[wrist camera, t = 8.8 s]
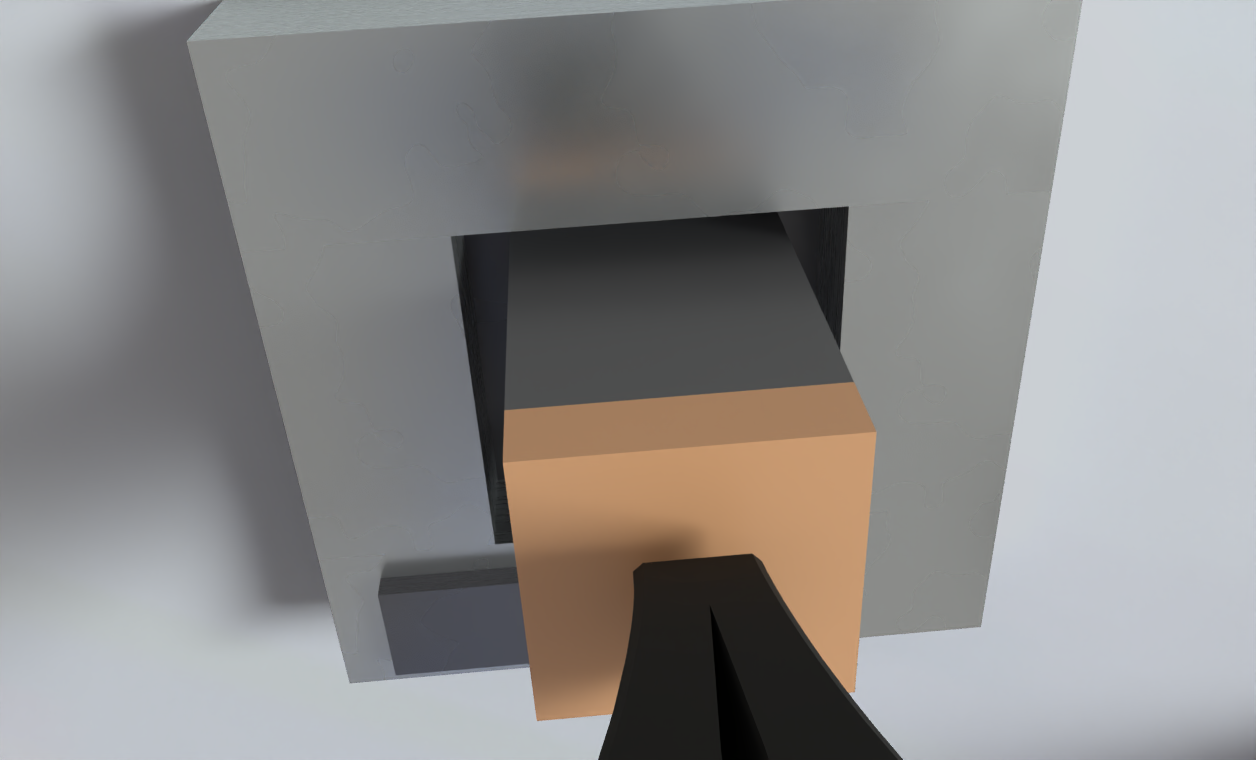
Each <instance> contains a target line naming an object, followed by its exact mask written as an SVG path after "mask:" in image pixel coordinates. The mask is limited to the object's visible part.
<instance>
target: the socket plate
mask: <svg viewBox="0 0 1256 760" xmlns="http://www.w3.org/2000/svg"><path fill="white" fill-rule="evenodd" d="M1081 6H1082V0H223V1H222V2H221V3H220V4H219V5H218V6H217V8H216V9H215V10H214V11H213V12H212V13H211V14H210V15H209V17H208V18H207V19H206V20H205V21H204V22H203V23H202V24H201V26H200V27H199V28H198V29H197V30H196V31H195V32H194V33H193V34H192V36H191V37H190V38H189V39H188V40H187V41H186V42H187V46H188V50H189V54H190V58H191V62H192V66H193V70H194V74H195V78H196V81H197V85H198V89H199V93H200V97H201V101H202V105H203V109H204V113H205V117H206V121H207V125H208V129H209V132H210V136H211V140H212V144H213V148H214V152H215V156H216V160H217V164H218V168H219V172H220V176H221V180H222V183H223V187H224V191H225V195H226V199H227V203H228V207H229V211H230V215H231V219H232V223H233V227H234V231H235V235H236V238H237V242H238V246H239V250H240V254H241V258H242V262H243V266H244V270H245V274H246V278H247V282H248V286H249V289H250V293H251V297H252V301H253V305H254V309H255V313H256V317H257V321H258V325H259V329H260V333H261V337H262V340H263V344H264V348H265V352H266V356H267V360H268V364H269V368H270V372H271V376H272V380H273V384H274V388H275V392H276V395H277V399H278V403H279V407H280V411H281V415H282V419H283V423H284V427H285V431H286V435H287V439H288V443H289V446H290V450H291V454H292V458H293V462H294V466H295V470H296V474H297V478H298V482H299V486H300V490H301V494H302V497H303V501H304V505H305V509H306V513H307V517H308V521H309V525H310V529H311V533H312V537H313V541H314V545H315V548H316V552H317V556H318V560H319V564H320V568H321V572H322V576H323V580H324V584H325V588H326V592H327V596H328V600H329V603H330V607H331V611H332V615H333V619H334V623H335V627H336V631H337V635H338V639H339V643H340V647H341V651H342V654H343V658H344V662H345V666H346V670H347V674H348V678H349V682H350V683H358V682H369V681H380V680H392V679H403V678H414V677H425V676H436V675H448V674H459V673H470V672H481V671H492V670H503V669H515V668H526V667H530V665H529V657H528V649H527V642H526V634H525V627H524V619H523V612H522V604H521V597H520V589H519V581H518V574H517V566H516V559H515V551H514V544H513V536H512V529H511V521H510V514H509V506H508V498H507V491H506V483H505V476H504V468H503V439H504V407H505V374H506V342H507V309H508V277H509V244H510V232H513V231H527V230H540V229H553V228H567V227H580V226H593V225H607V224H620V223H633V222H646V221H660V220H673V219H686V218H700V217H713V216H726V215H739V214H753V213H766V212H778V215H779V217H780V219H781V221H782V223H783V226H784V228H785V230H786V232H787V235H788V237H789V239H790V241H791V243H792V246H793V248H794V250H795V252H796V254H797V257H798V259H799V261H800V263H801V266H802V268H803V270H804V272H805V274H806V277H807V279H808V281H809V283H810V285H811V288H812V290H813V292H814V294H815V297H816V299H817V301H818V303H819V305H820V308H821V310H822V312H823V314H824V316H825V319H826V321H827V323H828V325H829V328H830V330H831V332H832V334H833V336H834V339H835V341H836V343H837V345H838V347H839V350H840V352H841V354H842V356H843V359H844V361H845V363H846V365H847V367H848V370H849V372H850V374H851V376H852V378H853V381H854V383H855V385H856V387H857V390H858V392H859V394H860V396H861V398H862V401H863V403H864V405H865V407H866V409H867V412H868V414H869V416H870V418H871V421H872V423H873V425H874V427H875V429H876V432H877V433H876V445H875V457H874V469H873V481H872V492H871V504H870V516H869V528H868V540H867V551H866V563H865V575H864V587H863V599H862V611H861V622H860V634H859V638H861V637H872V636H884V635H895V634H906V633H917V632H928V631H940V630H951V629H962V628H973V627H981V622H982V616H983V610H984V604H985V597H986V591H987V585H988V579H989V573H990V567H991V560H992V554H993V548H994V542H995V536H996V530H997V524H998V517H999V511H1000V505H1001V499H1002V493H1003V487H1004V480H1005V474H1006V468H1007V462H1008V456H1009V450H1010V443H1011V437H1012V431H1013V425H1014V419H1015V413H1016V407H1017V400H1018V394H1019V388H1020V382H1021V376H1022V370H1023V363H1024V357H1025V351H1026V345H1027V339H1028V333H1029V326H1030V320H1031V314H1032V308H1033V302H1034V296H1035V290H1036V283H1037V277H1038V271H1039V265H1040V259H1041V253H1042V246H1043V240H1044V234H1045V228H1046V222H1047V216H1048V209H1049V203H1050V197H1051V191H1052V185H1053V179H1054V172H1055V166H1056V160H1057V154H1058V148H1059V142H1060V136H1061V129H1062V123H1063V117H1064V111H1065V105H1066V99H1067V92H1068V86H1069V80H1070V74H1071V68H1072V62H1073V55H1074V49H1075V43H1076V37H1077V31H1078V25H1079V19H1080V12H1081Z"/></svg>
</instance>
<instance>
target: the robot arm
mask: <svg viewBox="0 0 1256 760" xmlns="http://www.w3.org/2000/svg"><path fill="white" fill-rule="evenodd" d="M633 583H634V603H633V615H632V623H631V631H630V637H629V642H628V648H627V654H626V659H625V664H624V668H623V672H622V676H621V681H620V685H619V689H618V693H617V697H616V702H615V706H614V710H613V713H612V717H611V721H610V724H609V727H608V730H607V733H606V737H605V740H604V743H603V746H602V749H601V752H600V755H599V759H598V760H903V759H902V758H901V757H900V756H899V754H898V753H897V752H896V751H895V750H894V748H893V747H892V746H891V745H890V744H889V743H888V741H887V740H886V739H885V738H884V737H883V736H882V734H881V733H880V732H879V731H878V730H877V728H876V727H875V726H874V725H873V724H872V722H871V721H870V720H869V719H868V717H867V716H866V715H865V714H864V712H863V711H862V710H861V709H860V707H859V706H858V705H857V704H856V702H855V701H854V700H853V699H852V697H851V696H850V695H849V693H848V692H847V691H846V689H845V688H844V687H843V685H842V684H841V683H840V681H839V680H838V679H837V677H836V676H835V675H834V673H833V672H832V671H831V669H830V668H829V667H828V665H827V664H826V663H825V661H824V660H823V658H822V657H821V656H820V654H819V653H818V651H817V650H816V649H815V647H814V646H813V644H812V643H811V641H810V640H809V638H808V637H807V635H806V634H805V632H804V631H803V629H802V628H801V626H800V625H799V623H798V622H797V620H796V619H795V617H794V616H793V614H792V613H791V611H790V609H789V608H788V606H787V605H786V603H785V601H784V600H783V598H782V597H781V595H780V593H779V591H778V590H777V588H776V586H775V585H774V583H773V581H772V579H771V577H770V576H769V574H768V572H767V570H766V568H765V566H764V564H763V562H762V561H761V560H760V559H759V558H758V557H756V556H755V555H754V554H752V553H751V554H739V555H728V556H716V557H705V558H693V559H682V560H670V561H659V562H647V563H642V564H641V565H640V566H639V567H638V568H636V569H635V570H634V571H633Z"/></svg>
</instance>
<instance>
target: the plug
mask: <svg viewBox="0 0 1256 760" xmlns="http://www.w3.org/2000/svg"><path fill="white" fill-rule="evenodd" d="M876 433H877V432H876V429H875V427H874V425H873V423H872V421H871V418H870V416H869V414H868V412H867V409H866V407H865V405H864V403H863V401H862V398H861V396H860V394H859V392H858V390H857V387H856V385H855V383H854V381H853V378H852V376H851V374H850V372H849V370H848V367H847V365H846V363H845V361H844V359H843V356H842V354H841V352H840V350H839V347H838V345H837V343H836V341H835V339H834V336H833V334H832V332H831V330H830V328H829V325H828V323H827V321H826V319H825V316H824V314H823V312H822V310H821V308H820V305H819V303H818V301H817V299H816V297H815V294H814V292H813V290H812V288H811V285H810V283H809V281H808V279H807V277H806V274H805V272H804V270H803V268H802V266H801V263H800V261H799V259H798V257H797V254H796V252H795V250H794V248H793V246H792V243H791V241H790V239H789V237H788V235H787V232H786V230H785V228H784V226H783V223H782V221H781V219H780V217H779V215H778V212H766V213H753V214H739V215H726V216H713V217H700V218H686V219H673V220H660V221H646V222H633V223H620V224H607V225H593V226H580V227H567V228H553V229H540V230H527V231H513V232H510V244H509V277H508V309H507V342H506V374H505V407H504V439H503V468H504V476H505V483H506V491H507V498H508V506H509V514H510V521H511V529H512V536H513V544H514V551H515V559H516V566H517V574H518V581H519V589H520V597H521V604H522V612H523V619H524V627H525V634H526V642H527V649H528V657H529V665H530V672H531V680H532V687H533V695H534V702H535V710H536V717H537V721H542V720H553V719H564V718H575V717H586V716H597V715H608V714H612V713H613V710H614V706H615V702H616V697H617V693H618V689H619V685H620V681H621V676H622V672H623V668H624V664H625V659H626V654H627V648H628V642H629V637H630V631H631V623H632V615H633V603H634V583H633V571H634V570H635V569H636V568H638V567H639V566H640V565H641V564H642V563H647V562H659V561H670V560H682V559H693V558H705V557H716V556H728V555H739V554H751V553H752V554H754V555H755V556H756V557H758V558H759V559H760V560H761V561H762V562H763V564H764V566H765V568H766V570H767V572H768V574H769V576H770V577H771V579H772V581H773V583H774V585H775V586H776V588H777V590H778V591H779V593H780V595H781V597H782V598H783V600H784V601H785V603H786V605H787V606H788V608H789V609H790V611H791V613H792V614H793V616H794V617H795V619H796V620H797V622H798V623H799V625H800V626H801V628H802V629H803V631H804V632H805V634H806V635H807V637H808V638H809V640H810V641H811V643H812V644H813V646H814V647H815V649H816V650H817V651H818V653H819V654H820V656H821V657H822V658H823V660H824V661H825V663H826V664H827V665H828V667H829V668H830V669H831V671H832V672H833V673H834V675H835V676H836V677H837V679H838V680H839V681H840V683H841V684H842V685H843V687H844V688H845V689H846V691H847V692H848V693H849V692H855V682H856V670H857V658H858V646H859V634H860V622H861V611H862V599H863V587H864V575H865V563H866V551H867V540H868V528H869V516H870V504H871V492H872V481H873V469H874V457H875V445H876Z"/></svg>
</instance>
